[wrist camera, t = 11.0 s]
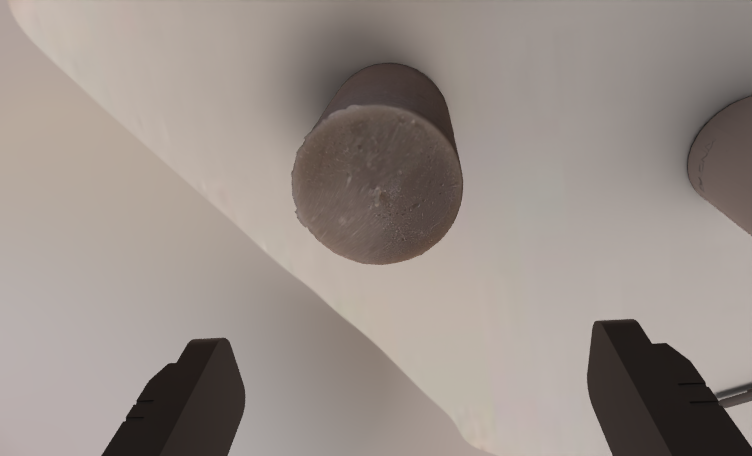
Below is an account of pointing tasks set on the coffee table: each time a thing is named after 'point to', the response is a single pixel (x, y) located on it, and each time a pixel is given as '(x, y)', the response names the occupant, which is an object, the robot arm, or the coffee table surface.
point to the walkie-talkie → (736, 399)
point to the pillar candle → (380, 168)
